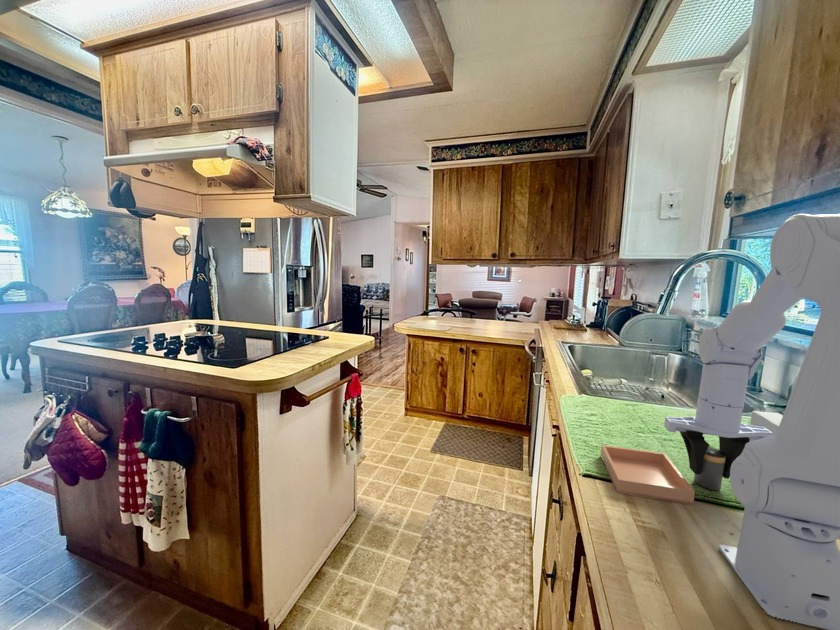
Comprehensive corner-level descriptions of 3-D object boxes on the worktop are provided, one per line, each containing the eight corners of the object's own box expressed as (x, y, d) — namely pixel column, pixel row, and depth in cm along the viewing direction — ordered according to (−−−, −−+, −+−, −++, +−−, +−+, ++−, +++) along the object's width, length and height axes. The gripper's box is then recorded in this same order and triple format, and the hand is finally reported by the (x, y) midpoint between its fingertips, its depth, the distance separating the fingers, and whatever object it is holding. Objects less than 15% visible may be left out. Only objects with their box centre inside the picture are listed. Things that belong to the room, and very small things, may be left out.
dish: (692, 505, 54) (695, 491, 53) (617, 492, 57) (618, 479, 56) (663, 464, 64) (664, 453, 64) (600, 456, 67) (601, 445, 67)
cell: (725, 491, 56) (731, 459, 55) (700, 487, 57) (705, 456, 56) (713, 478, 60) (718, 447, 59) (689, 474, 61) (694, 444, 60)
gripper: (756, 395, 58) (743, 466, 60) (660, 387, 62) (652, 454, 64) (788, 413, 51) (772, 491, 53) (679, 402, 55) (669, 476, 57)
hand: (708, 473), depth 58 cm, fingers closed on cell, 4 cm apart
